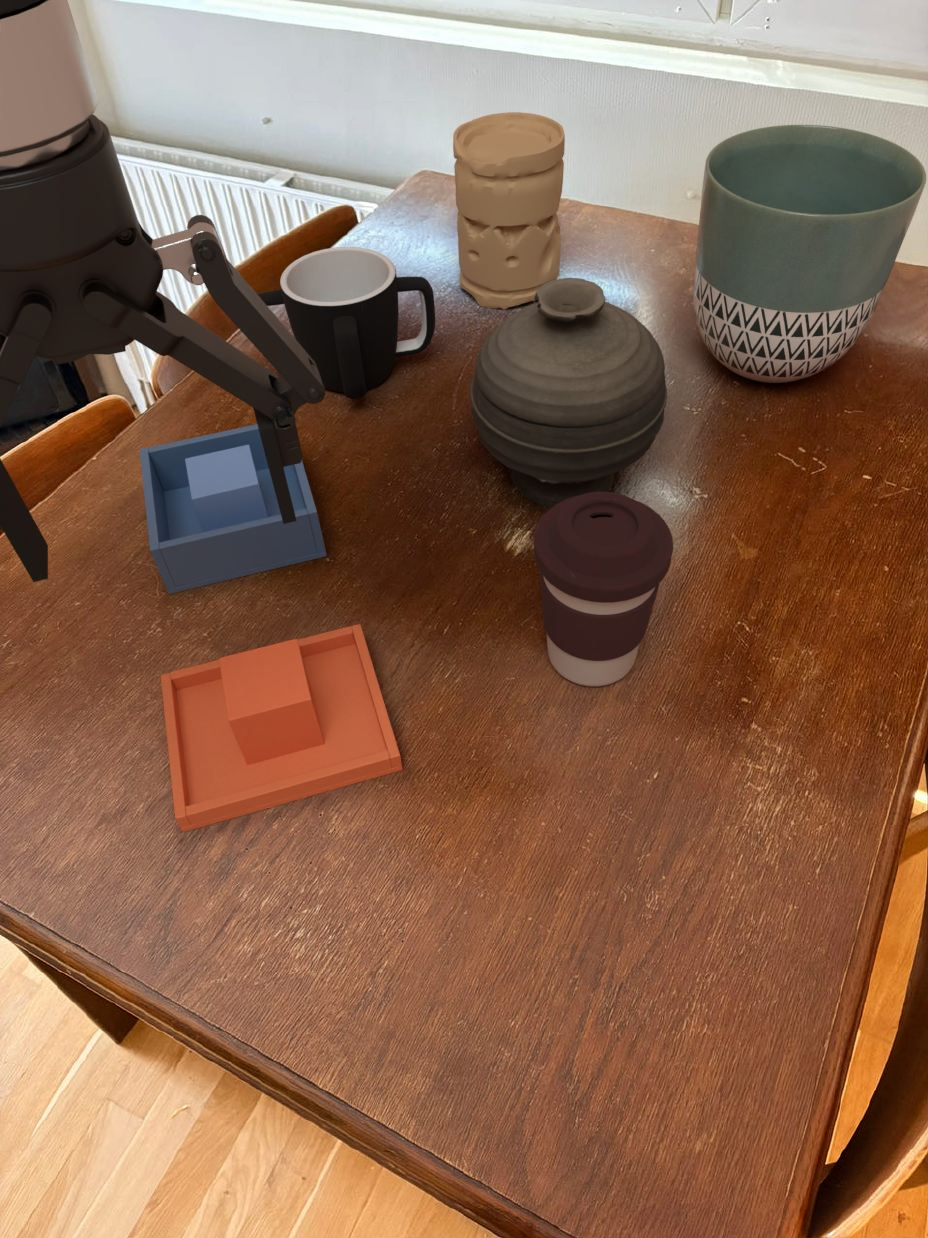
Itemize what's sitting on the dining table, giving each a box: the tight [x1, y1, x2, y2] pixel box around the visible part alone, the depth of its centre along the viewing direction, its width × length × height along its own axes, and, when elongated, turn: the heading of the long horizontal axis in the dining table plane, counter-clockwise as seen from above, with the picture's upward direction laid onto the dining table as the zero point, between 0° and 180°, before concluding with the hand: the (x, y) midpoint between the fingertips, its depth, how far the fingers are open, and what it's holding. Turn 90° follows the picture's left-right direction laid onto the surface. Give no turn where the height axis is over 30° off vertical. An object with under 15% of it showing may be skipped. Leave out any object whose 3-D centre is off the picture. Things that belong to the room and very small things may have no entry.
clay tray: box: [160, 623, 404, 833], centre depth 70 cm, size 17×14×2 cm
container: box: [452, 111, 566, 311], centre depth 107 cm, size 13×13×18 cm
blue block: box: [185, 445, 269, 532], centre depth 84 cm, size 6×6×6 cm
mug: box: [256, 246, 436, 400], centre depth 98 cm, size 16×16×12 cm
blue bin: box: [139, 423, 328, 595], centre depth 85 cm, size 15×15×6 cm
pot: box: [469, 277, 668, 509], centre depth 82 cm, size 18×18×20 cm
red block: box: [218, 638, 324, 765], centre depth 68 cm, size 6×6×6 cm
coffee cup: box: [533, 491, 674, 687], centre depth 69 cm, size 10×10×15 cm
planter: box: [692, 124, 927, 384], centre depth 92 cm, size 20×20×21 cm
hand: (166, 535), depth 50 cm, fingers open, 13 cm apart
